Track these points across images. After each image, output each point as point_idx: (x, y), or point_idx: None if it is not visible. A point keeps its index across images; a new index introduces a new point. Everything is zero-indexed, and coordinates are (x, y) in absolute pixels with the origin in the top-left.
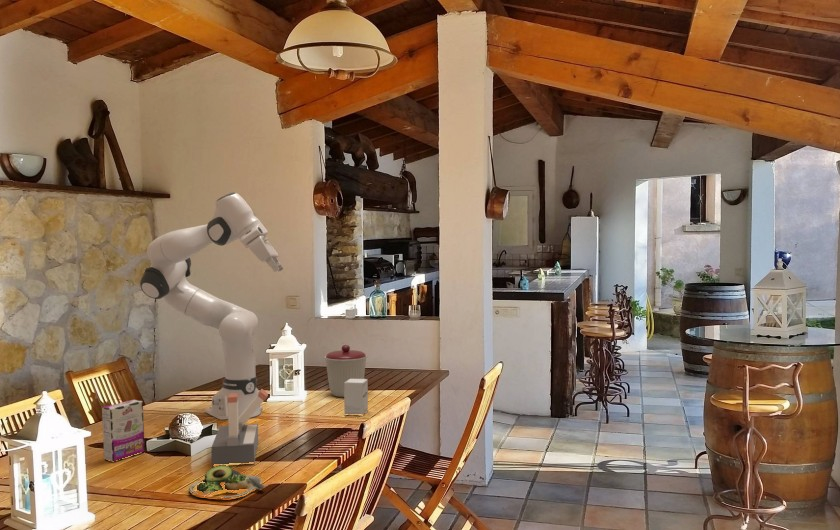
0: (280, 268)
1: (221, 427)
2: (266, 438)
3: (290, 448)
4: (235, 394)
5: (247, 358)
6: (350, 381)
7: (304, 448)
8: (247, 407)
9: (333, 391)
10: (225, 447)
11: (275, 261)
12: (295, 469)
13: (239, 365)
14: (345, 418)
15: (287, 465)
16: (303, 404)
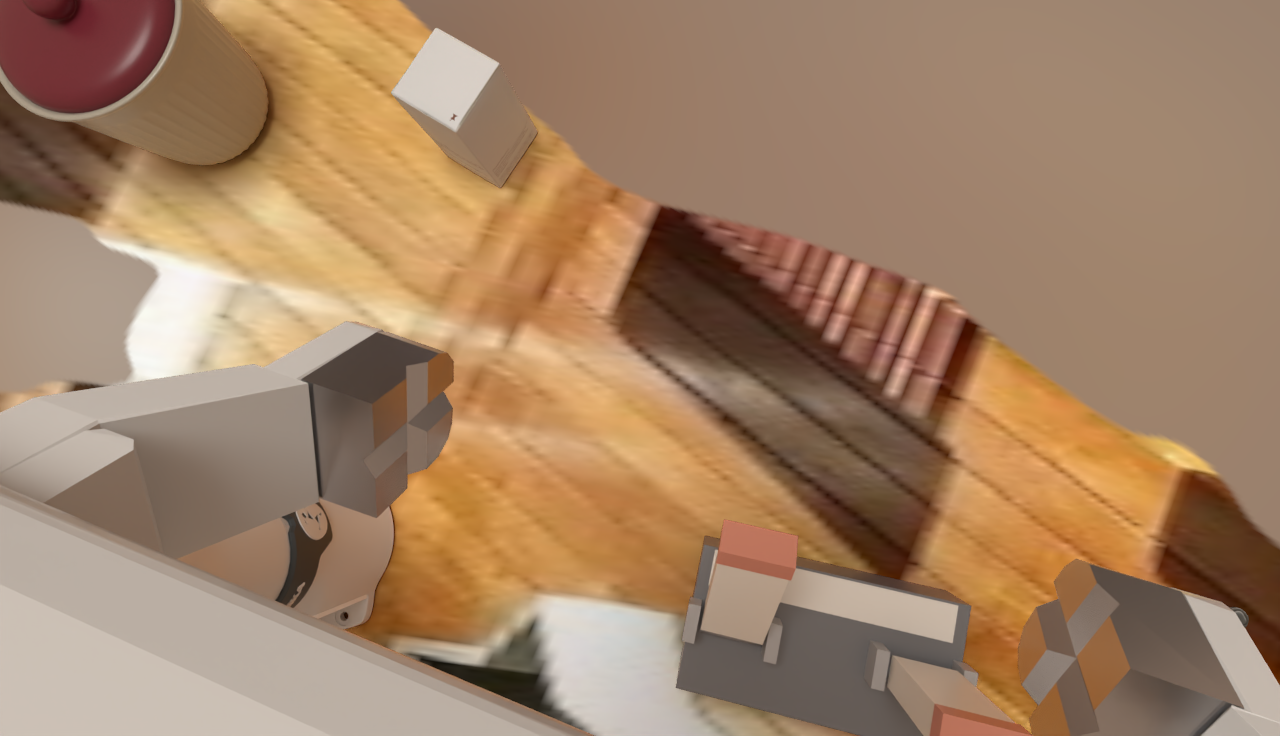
0: (428, 403)
1: (697, 684)
2: (669, 500)
3: (816, 445)
4: (973, 732)
5: (218, 547)
6: (453, 104)
7: (833, 402)
8: (739, 606)
9: (223, 157)
10: None
11: (152, 517)
12: (1043, 474)
13: (241, 586)
14: (537, 193)
15: (993, 490)
16: (286, 291)
